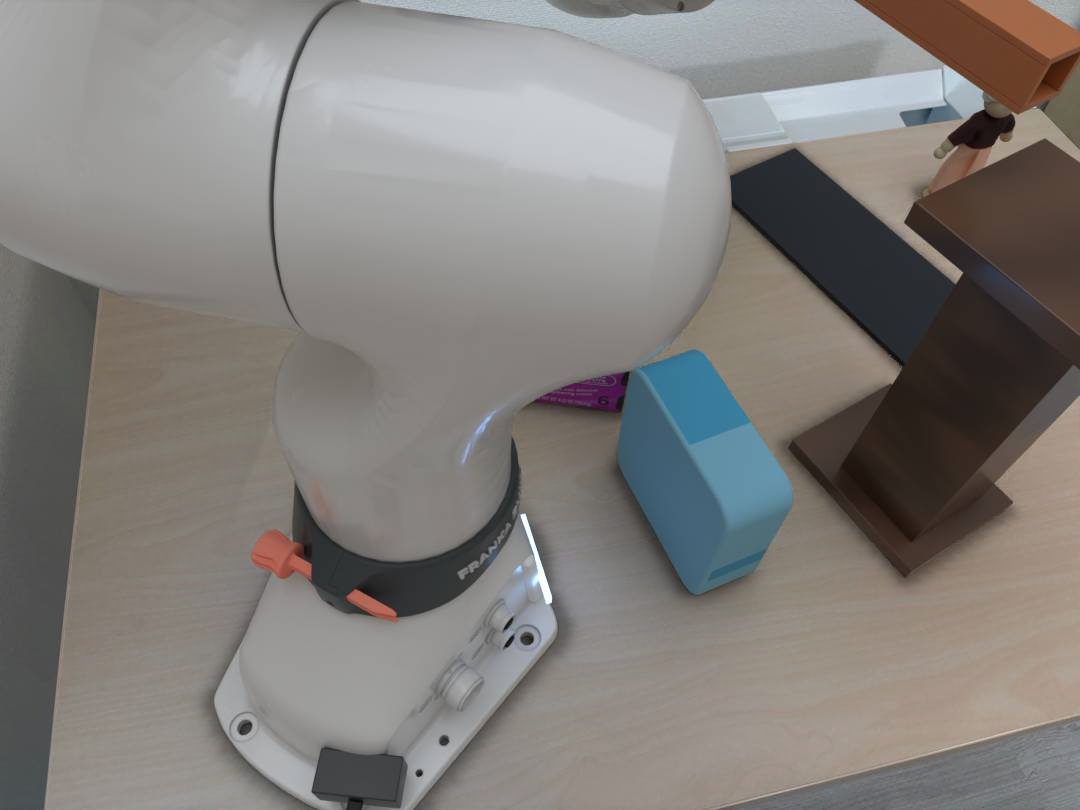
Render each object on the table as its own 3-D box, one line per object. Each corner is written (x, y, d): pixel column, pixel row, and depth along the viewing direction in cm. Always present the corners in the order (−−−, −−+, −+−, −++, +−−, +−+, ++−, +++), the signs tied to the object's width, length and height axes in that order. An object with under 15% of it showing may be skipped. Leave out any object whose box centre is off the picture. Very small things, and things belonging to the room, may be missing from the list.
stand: (787, 447, 62) (914, 200, 42) (885, 391, 65) (1045, 137, 45) (905, 578, 57) (1114, 363, 37) (1005, 510, 60) (1248, 278, 40)
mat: (712, 186, 78) (713, 182, 78) (793, 151, 81) (795, 147, 81) (916, 380, 66) (919, 376, 66) (1003, 330, 69) (1006, 326, 69)
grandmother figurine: (934, 223, 76) (1000, 103, 66) (903, 198, 78) (964, 77, 67) (992, 195, 78) (1066, 74, 68) (962, 171, 80) (1029, 50, 70)
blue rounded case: (751, 578, 56) (801, 494, 46) (693, 603, 55) (731, 522, 45) (667, 438, 62) (695, 337, 52) (613, 458, 61) (631, 359, 51)
